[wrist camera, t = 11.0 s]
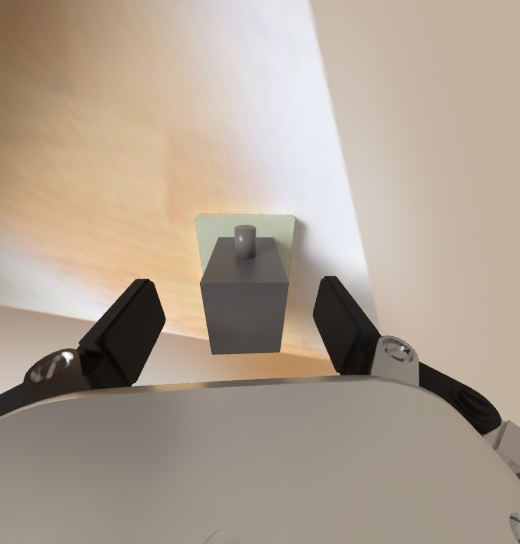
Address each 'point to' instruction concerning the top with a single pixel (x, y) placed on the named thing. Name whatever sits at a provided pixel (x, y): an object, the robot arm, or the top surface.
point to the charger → (244, 294)
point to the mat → (265, 225)
